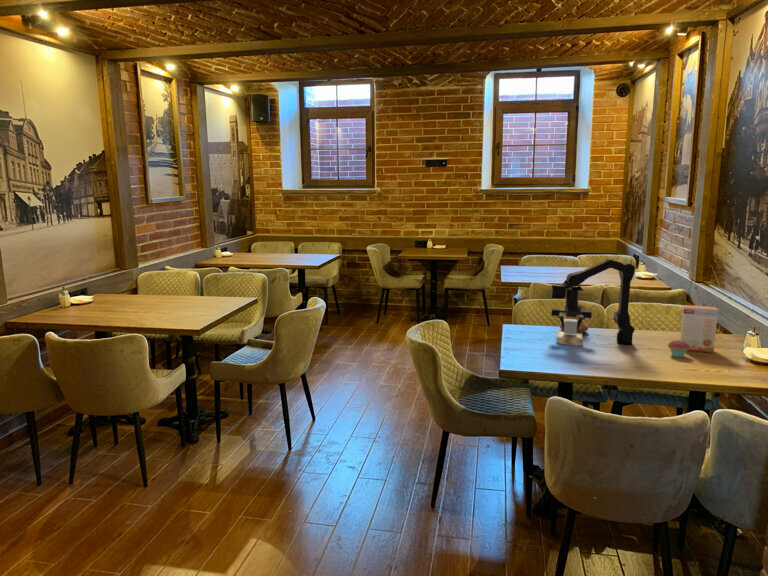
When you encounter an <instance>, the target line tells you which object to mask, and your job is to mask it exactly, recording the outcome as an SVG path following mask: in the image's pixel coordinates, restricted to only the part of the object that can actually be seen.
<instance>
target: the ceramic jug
mask: <svg viewBox="0 0 768 576" xmlns="http://www.w3.org/2000/svg"><path fill="white" fill-rule="evenodd" d="M565 307H566V303H564V304H563V306H562V308H563V311H565ZM578 307H581V312H583V310H588V306H586V305H583V304H579V303H578ZM564 317H565V318H564V319H576V320H577V323H578V317H579V315H577V317H567V316H566V314H564ZM559 328H560V330H561V331H562V332H564V330H563V327H562V324H561V322H560V323H559ZM588 329H589V325H588V324H587V322H585V321H584V319H583V320H582V322H581V323H580V326H579V328H578V330H577V333H582V334H583V333H586V332H587V331H588Z"/></svg>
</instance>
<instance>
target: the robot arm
mask: <svg viewBox="0 0 768 576" xmlns="http://www.w3.org/2000/svg"><path fill="white" fill-rule="evenodd" d="M608 269H612V270H615V271H616V270H617V271H618V275H619V279H620V287H619V298H618V309H617V311H614V312H613V318H612V321H613V322H614V324H615V326H617V329H618V330H617V331H618V332H616V342H617V344H618V345H630V346H631V345H632V346H633V335H634V332H635V331H636V330H635V327H633V325H632V324H631V318H630V314H629V305H630V293H631V291H630V290H631V282H632V280H633V278H634V275H635V272H636V268H635V266H634V265H633V264H631V263H629V262H627V261H624V262H619V261H617V260H614V259H611V258H607V259H605V260H603V261H601V262H599V263H596V264H595V265H592V266H590V267H587V268H586V269H584V270H579V271H574V272H571V273H568V274H567V276H566V278H565V280H564V282H562V284H561V285H559V284H551V288H550V291H549V295H550V299H551V300H556V299H557V300H560V299H561V300H563V299H565V304H566V307H565V311H564V309H563V310H561V308H558V307H552V309H551V315H550V316H554V317H556V318H558V319H559V320H560V323H561V324H562V327H563V330H564V319H565V318H564V315H565V314H566V316H567V317H577V315H579V317H578V323H577V330H578V328H579V326H580V323H581V322H582V320H583V321H584V320H586V319H592V314H593V313H592V311H591V310H588V309H587V310H583V312H581V307H578V304H579V295H580V294H579V293H580V292H583V291H584V288H582V286H581V284H583V283H584V282H585V281H586V280H587V279H589V278H592V277H593V276H595V275H597V274H601V273H602V272H604V271H607V270H608ZM563 330H562V331H563Z"/></svg>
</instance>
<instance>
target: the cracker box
mask: <svg viewBox="0 0 768 576" xmlns="http://www.w3.org/2000/svg"><path fill="white" fill-rule="evenodd" d="M718 313H719V310H718V308H717V307H713V306H703V305H701V306H700V305H690V304H688V305H687V304H683V306H682V317H681V325H680V327H681V328H680V335H679V340H682V337H683V333H684V332H685V336H684V339H683V341H684V342H686V343H687V344H688V345H689V350H688V351H691V352H701V353H702V352H703V353H708V354H709V353H710V354H713V353H714V352H715V342H716V341H715V340H716V332H717V322H718Z"/></svg>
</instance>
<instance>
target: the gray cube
mask: <svg viewBox="0 0 768 576" xmlns="http://www.w3.org/2000/svg"><path fill="white" fill-rule="evenodd" d="M563 319H564V331H563V332H564V333H566V334H577V320H576V319H565V318H563Z"/></svg>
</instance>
